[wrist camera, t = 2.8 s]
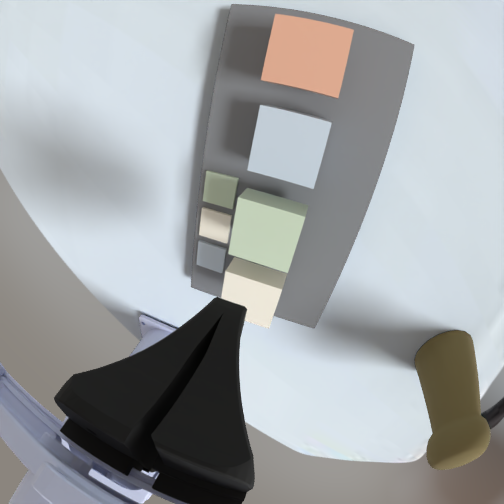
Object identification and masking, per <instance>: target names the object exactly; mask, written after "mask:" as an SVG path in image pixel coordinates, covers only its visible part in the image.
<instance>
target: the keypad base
mask: <svg viewBox="0 0 504 504" xmlns="http://www.w3.org/2000/svg"><path fill="white" fill-rule="evenodd" d="M275 14H281V15H288V16H295V17H301V18H306V19H311V20H316V21H321V22H325V23H330V24H334V25H338V26H342V27H345V28H349V29H353V30H354V32H353V37H352V41H351V46H350V50H349V55H348V59H347V64H346V68H345V72H344V77H343V81H342V85H341V89H340V93H339V97H338V99H335V98H332V97H328V96H325V95H321V94H317V93H314V92H310V91H306V90H302V89H297V88H293V87H288V86H284V85H279V84H274V83H269V82H266V81H262V80H261V76H262V72H263V67H264V62H265V58H266V53H267V48H268V44H269V39H270V35H271V30H272V26H273V22H274V17H275ZM413 50H414V44H411V43H409V42H407V41H404V40H402V39H399V38H397V37H394V36H392V35H389V34H386V33H383V32H381V31H378V30H375V29H372V28H369V27H365V26H362V25H359V24H356V23H352V22H348V21H345V20H341V19H337V18H333V17H329V16H324V15H319V14H315V13H309V12H304V11H298V10H292V9H285V8H277V7H268V6H257V5H241V4H232V5H231V9H230V13H229V17H228V22H227V26H226V30H225V35H224V40H223V44H222V49H221V54H220V59H219V64H218V69H217V75H216V80H215V85H214V91H213V97H212V103H211V109H210V115H209V121H208V128H207V135H206V142H205V149H204V156H203V164H202V172H201V180H200V188H199V197H198V207H197V216H196V227H195V238H194V250H193V263H192V277H191V287H192V288H195V289H198V290H200V291H203V292H206V293H209V294H211V295H214V296H217V297H220V298H221V296H222V289H223V283H224V277H225V271H226V269H227V268H228V266H229V265H230V263H231V262H232V260H233V258H234V257H236V256H233V255H230V254H228V252H229V246H230V241H231V235H232V229H233V223H234V217H235V212H236V206H237V200H238V197H239V196H240V195H241V194H242V193H243V192H244V191H245V190H246V189H247V188H250V189H254V190H258V191H261V192H265V193H268V194H272V195H275V196H279V197H282V198H285V199H289V200H292V201H295V202H299V203H302V204H305V205H308V209H307V213H306V217H305V220H304V223H303V227H302V230H301V233H300V236H299V240H298V243H297V246H296V249H295V252H294V255H293V258H292V262H291V265H290V268H289V271H288V273H286V272H283V271H280V270H277V271H280V272H283V273H286V274H287V276H286V279H285V282H284V286H283V289H282V292H281V295H280V298H279V301H278V304H277V307H276V310H275V312H274V315H273V316H276V317H279V318H282V319H285V320H288V321H292V322H295V323H298V324H301V325H305V326H308V327H311V328H315V326H316V324H317V322H318V321H319V319H320V316H321V314H322V312H323V310H324V308H325V306H326V304H327V302H328V300H329V298H330V296H331V294H332V292H333V289H334V287H335V285H336V283H337V281H338V279H339V276H340V274H341V272H342V270H343V267H344V265H345V263H346V261H347V258H348V256H349V254H350V251H351V249H352V246H353V244H354V242H355V239H356V237H357V234H358V232H359V229H360V227H361V224H362V222H363V219H364V217H365V214H366V211H367V209H368V206H369V204H370V201H371V198H372V195H373V193H374V190H375V187H376V184H377V181H378V178H379V176H380V173H381V170H382V167H383V164H384V161H385V158H386V154H387V151H388V148H389V145H390V142H391V138H392V135H393V132H394V128H395V125H396V121H397V118H398V114H399V110H400V107H401V103H402V99H403V95H404V91H405V87H406V82H407V78H408V74H409V69H410V65H411V60H412V55H413ZM260 105H272V106H276V107H281V108H285V109H289V110H293V111H297V112H301V113H305V114H309V115H313V116H316V117H320V118H323V119H327V120H330V121H332V124H331V128H330V132H329V135H328V139H327V143H326V147H325V150H324V154H323V158H322V161H321V165H320V168H319V172H318V175H317V179H316V182H315V186H314V189H311V188H308V187H305V186H302V185H298V184H295V183H291V182H288V181H284V180H281V179H277V178H274V177H270V176H266V175H263V174H259V173H255V172H251V171H247V169H248V164H249V158H250V153H251V148H252V143H253V138H254V133H255V128H256V123H257V118H258V113H259V108H260ZM236 258H239V257H236ZM239 259H242V258H239ZM242 260H245V259H242ZM246 261H248V260H246ZM249 262H251V261H249ZM252 263H255V262H252ZM255 264H258V263H255ZM258 265H261V264H258ZM261 266H264V265H261ZM264 267H267V266H264ZM267 268H270V267H267ZM270 269H273V268H270ZM274 270H276V269H274Z"/></svg>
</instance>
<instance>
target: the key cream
mask: <svg viewBox="0 0 504 504" xmlns="http://www.w3.org/2000/svg"><path fill="white" fill-rule="evenodd" d="M286 276H287V274H286V273H283V272H280V271H277V270H274V269H270V268H267V267H264V266H261V265H258V264H255V263H252V262H249V261H246V260H242V259H239V258H236V257H234V258H233V260H232V262H231V263H230V265H229V266H228V268H227V269H226V271H225V277H224V283H223V289H222V296H221V299H224V300H227V301H230V302H233V303H236V304H239V305H242V306H245V307H246V308H247V312H246V317H245V321H247V322H250V323H253V324H256V325H259V326H262V327H265V328H268V329H269V327H270V324H271V321H272V318H273V315H274V312H275V310H276V307H277V304H278V301H279V298H280V295H281V292H282V289H283V286H284V282H285V279H286Z"/></svg>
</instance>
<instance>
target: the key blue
mask: <svg viewBox="0 0 504 504" xmlns="http://www.w3.org/2000/svg"><path fill="white" fill-rule="evenodd" d="M331 124H332V121H330V120H327V119H323V118H320V117H316V116H313V115H309V114H305V113H301V112H297V111H293V110H289V109H285V108H281V107H276V106H272V105H260V108H259V113H258V118H257V123H256V128H255V133H254V138H253V143H252V148H251V153H250V158H249V164H248V169H247V171H251V172H255V173H259V174H263V175H266V176H270V177H274V178H277V179H281V180H284V181H288V182H291V183H295V184H298V185H302V186H305V187H308V188H311V189H314V186H315V182H316V179H317V175H318V172H319V168H320V165H321V161H322V158H323V154H324V150H325V147H326V143H327V139H328V135H329V132H330V128H331Z"/></svg>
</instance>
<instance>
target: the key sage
mask: <svg viewBox="0 0 504 504" xmlns="http://www.w3.org/2000/svg"><path fill="white" fill-rule="evenodd" d="M307 209H308V205H305V204H302V203H299V202H295V201H292V200H289V199H285V198H282V197H279V196H275V195H272V194H268V193H265V192H261V191H258V190H254V189H250V188H247V189H246V190H245V191H244V192H243V193H242V194H241V195H240V196H239V197H238V200H237V206H236V212H235V217H234V223H233V229H232V235H231V241H230V246H229V252H228V254H230V255H233V256H236V257H239V258H242V259H245V260H248V261H251V262H255V263H258V264H261V265H264V266H267V267H270V268H273V269H276V270H280V271H283V272H286V273H288V271H289V268H290V265H291V262H292V258H293V255H294V252H295V249H296V246H297V243H298V240H299V236H300V233H301V230H302V227H303V223H304V220H305V217H306V213H307Z"/></svg>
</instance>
